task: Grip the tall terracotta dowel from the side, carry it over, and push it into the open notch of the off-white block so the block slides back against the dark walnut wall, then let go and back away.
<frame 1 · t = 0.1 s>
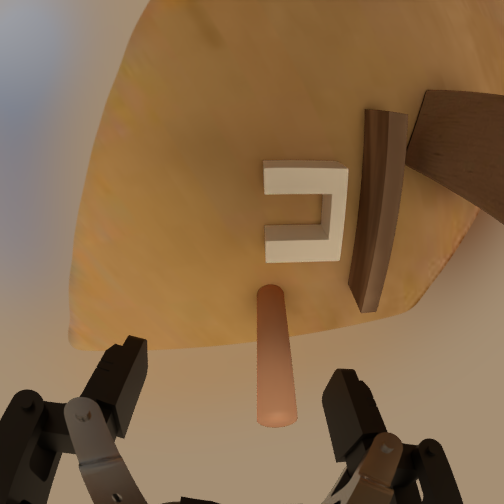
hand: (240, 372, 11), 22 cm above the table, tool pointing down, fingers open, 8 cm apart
wall: (367, 204, 30), on the table
dowel: (270, 295, 37), on the table
wooden block: (442, 142, 26), on the table
notched block: (300, 204, 31), on the table
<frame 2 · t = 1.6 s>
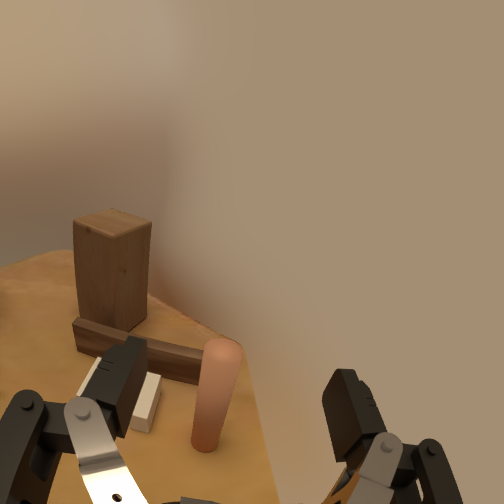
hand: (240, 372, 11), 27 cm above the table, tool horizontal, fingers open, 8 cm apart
wall: (137, 365, 40), on the table
dowel: (204, 441, 30), on the table
wooden block: (113, 319, 49), on the table
notched block: (122, 402, 33), on the table
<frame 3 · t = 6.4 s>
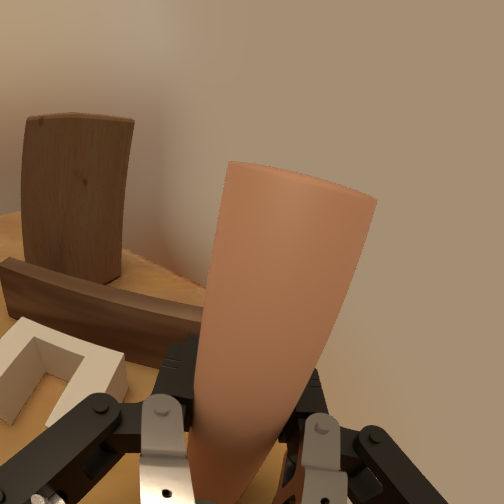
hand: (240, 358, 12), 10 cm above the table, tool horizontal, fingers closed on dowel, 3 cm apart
wall: (93, 342, 22), on the table
dowel: (212, 489, 13), on the table, touching gripper
wooden block: (72, 277, 31), on the table
notched block: (56, 403, 15), on the table
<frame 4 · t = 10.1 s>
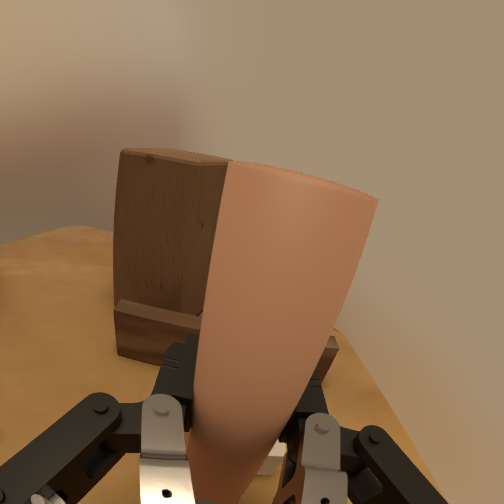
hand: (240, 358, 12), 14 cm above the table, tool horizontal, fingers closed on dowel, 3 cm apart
wall: (219, 370, 28), on the table
dowel: (212, 489, 13), point 4 cm above the table, touching gripper
wooden block: (163, 306, 37), on the table
notched block: (213, 432, 20), on the table
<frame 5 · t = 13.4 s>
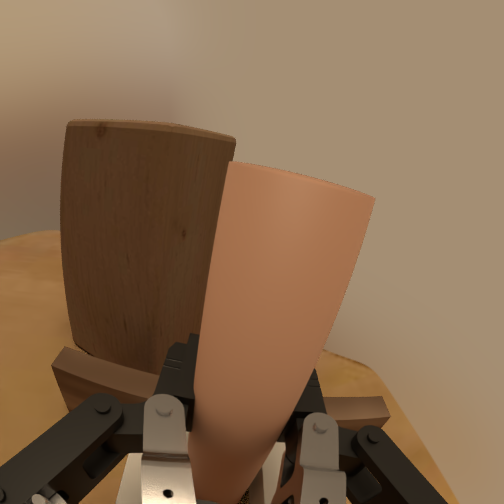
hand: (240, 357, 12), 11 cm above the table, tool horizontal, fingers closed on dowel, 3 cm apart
wall: (214, 445, 17), on the table
dowel: (212, 491, 12), point 1 cm above the table, touching gripper, notched block
wooden block: (139, 342, 26), on the table
when the fingers open (11 cm above the table, at t = 13.6 s): dowel stays where it is, resting in notched block.
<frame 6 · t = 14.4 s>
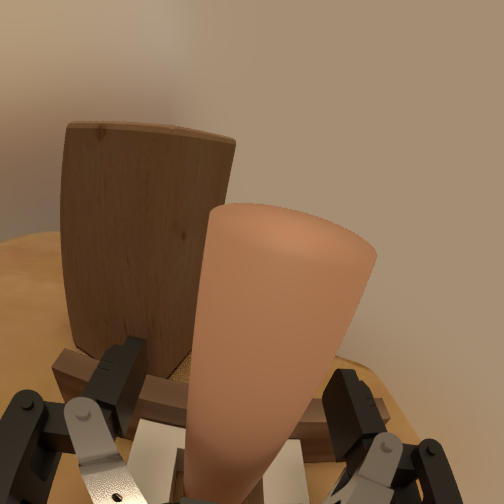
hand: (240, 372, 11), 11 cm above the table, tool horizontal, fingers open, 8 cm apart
wall: (214, 447, 17), on the table
dowel: (210, 500, 12), resting in notched block
wooden block: (139, 343, 26), on the table
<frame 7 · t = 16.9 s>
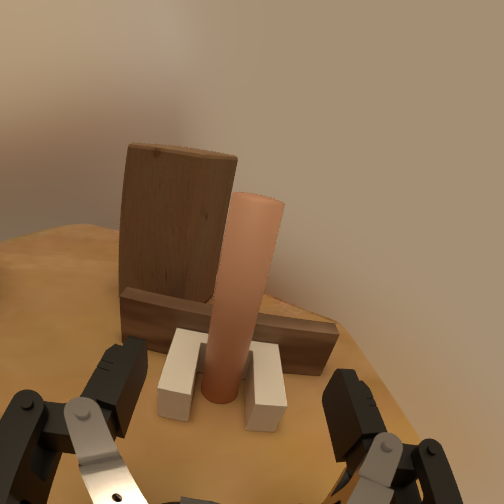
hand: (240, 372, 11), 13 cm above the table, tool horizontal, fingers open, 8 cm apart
wall: (222, 358, 29), on the table
dowel: (219, 389, 24), resting in notched block
wooden block: (167, 298, 38), on the table
notched block: (219, 393, 24), on the table
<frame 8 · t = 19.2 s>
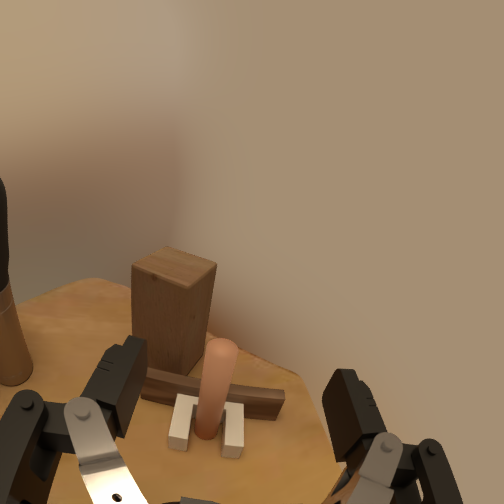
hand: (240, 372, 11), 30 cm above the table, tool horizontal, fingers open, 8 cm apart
wall: (208, 408, 40), on the table
dowel: (205, 430, 36), resting in notched block
wooden block: (169, 358, 49), on the table
notched block: (205, 433, 35), on the table
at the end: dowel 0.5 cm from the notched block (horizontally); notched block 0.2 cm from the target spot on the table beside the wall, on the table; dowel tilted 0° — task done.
